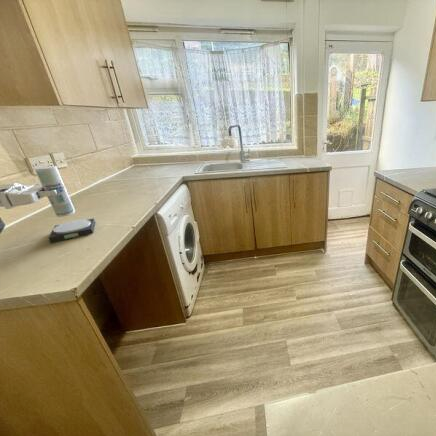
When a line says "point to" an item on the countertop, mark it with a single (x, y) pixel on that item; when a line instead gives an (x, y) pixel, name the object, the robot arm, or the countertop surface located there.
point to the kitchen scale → (72, 230)
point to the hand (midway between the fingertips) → (59, 189)
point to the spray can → (54, 182)
